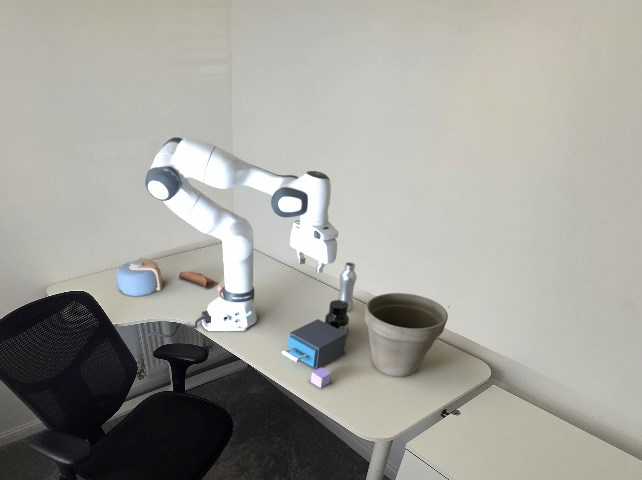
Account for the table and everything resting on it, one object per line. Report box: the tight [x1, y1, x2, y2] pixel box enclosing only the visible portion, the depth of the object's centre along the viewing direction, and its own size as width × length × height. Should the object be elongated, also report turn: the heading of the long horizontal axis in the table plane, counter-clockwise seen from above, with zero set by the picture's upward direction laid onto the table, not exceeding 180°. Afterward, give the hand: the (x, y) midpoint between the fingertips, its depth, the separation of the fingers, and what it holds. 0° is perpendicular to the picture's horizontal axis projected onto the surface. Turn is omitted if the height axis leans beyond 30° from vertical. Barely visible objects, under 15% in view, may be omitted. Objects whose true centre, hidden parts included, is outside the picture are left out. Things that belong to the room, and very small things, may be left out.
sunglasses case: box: [178, 270, 218, 289], centre depth 207 cm, size 18×7×7 cm, turn 52°
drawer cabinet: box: [289, 318, 348, 370], centre depth 155 cm, size 15×14×9 cm
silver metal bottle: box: [337, 261, 357, 312], centre depth 179 cm, size 6×7×20 cm
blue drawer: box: [281, 335, 317, 369], centre depth 153 cm, size 19×12×7 cm, turn 130°
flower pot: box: [364, 292, 449, 378], centre depth 145 cm, size 25×25×22 cm
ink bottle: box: [324, 299, 350, 334], centre depth 166 cm, size 10×9×12 cm
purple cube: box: [310, 367, 332, 389], centre depth 143 cm, size 4×4×4 cm
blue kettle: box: [115, 257, 164, 297], centre depth 200 cm, size 19×20×12 cm
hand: (310, 267), depth 148 cm, fingers open, 8 cm apart
